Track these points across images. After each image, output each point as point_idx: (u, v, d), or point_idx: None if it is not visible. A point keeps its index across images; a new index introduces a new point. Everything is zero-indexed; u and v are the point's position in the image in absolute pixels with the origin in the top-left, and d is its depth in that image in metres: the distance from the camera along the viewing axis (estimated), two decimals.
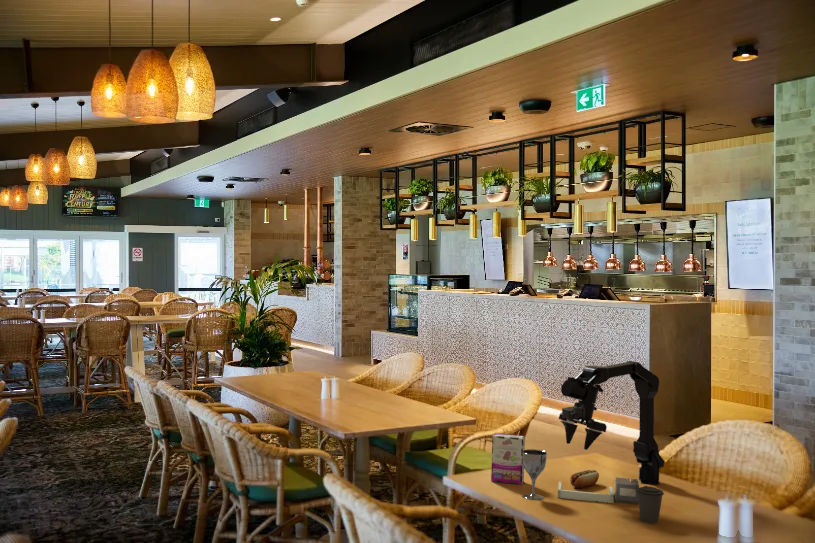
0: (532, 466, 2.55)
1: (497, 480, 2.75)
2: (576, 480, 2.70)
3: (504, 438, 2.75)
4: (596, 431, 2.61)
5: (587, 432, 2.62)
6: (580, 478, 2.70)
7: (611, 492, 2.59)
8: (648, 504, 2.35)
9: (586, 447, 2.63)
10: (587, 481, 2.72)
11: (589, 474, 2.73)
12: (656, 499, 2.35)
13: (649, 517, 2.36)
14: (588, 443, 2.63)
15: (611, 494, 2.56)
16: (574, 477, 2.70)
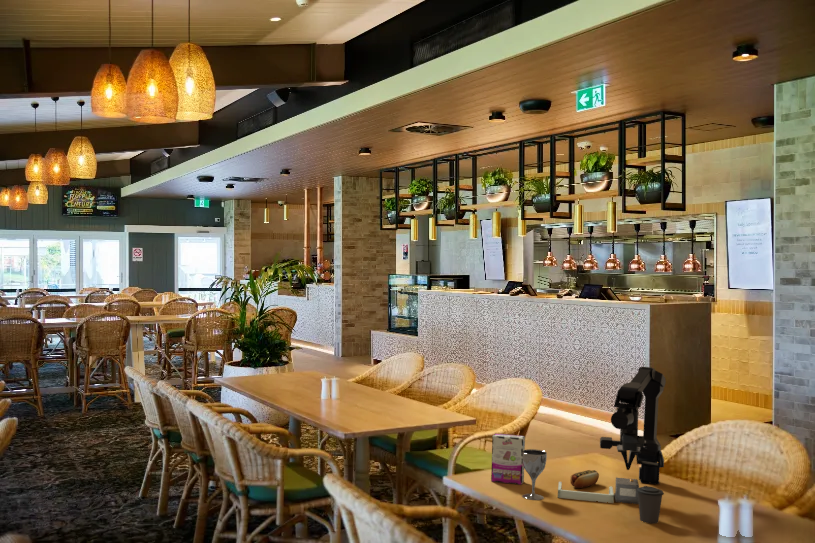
0: (532, 466, 2.55)
1: (497, 480, 2.75)
2: (576, 480, 2.70)
3: (504, 438, 2.75)
4: None
5: (633, 454, 2.60)
6: (580, 478, 2.70)
7: (611, 492, 2.59)
8: (648, 504, 2.35)
9: (629, 467, 2.62)
10: (587, 481, 2.72)
11: (589, 474, 2.73)
12: (656, 499, 2.35)
13: (649, 517, 2.36)
14: None
15: (611, 494, 2.56)
16: (574, 477, 2.70)
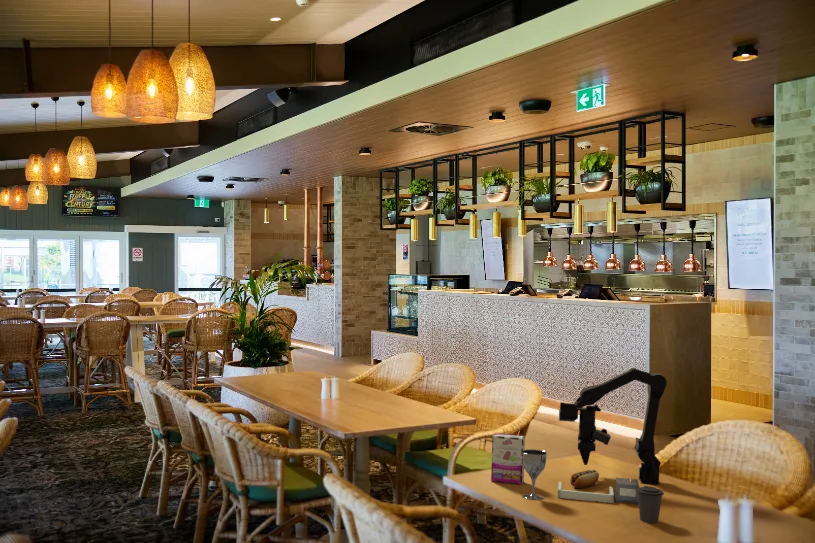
0: (532, 466, 2.55)
1: (497, 480, 2.75)
2: (576, 480, 2.70)
3: (504, 438, 2.75)
4: None
5: None
6: (580, 478, 2.70)
7: (611, 492, 2.59)
8: (648, 504, 2.35)
9: None
10: (587, 481, 2.72)
11: (589, 474, 2.73)
12: (656, 499, 2.35)
13: (649, 517, 2.36)
14: None
15: (611, 494, 2.56)
16: (574, 477, 2.70)
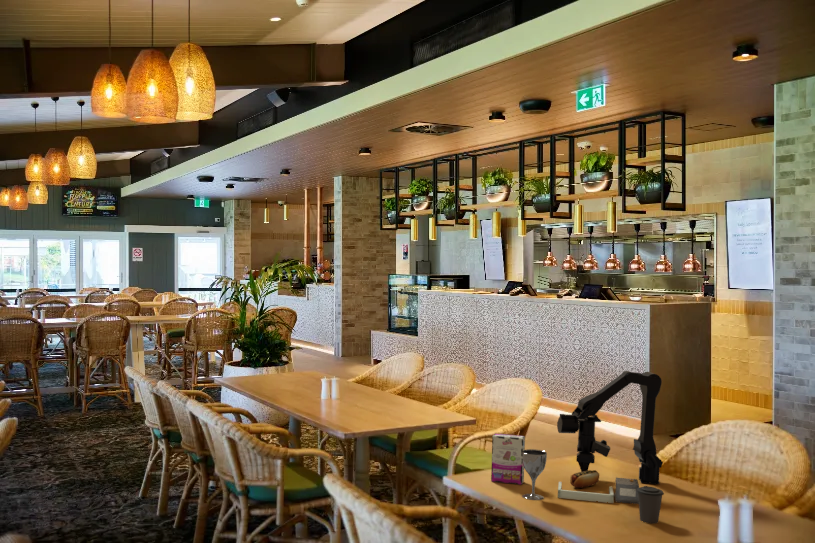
0: (532, 466, 2.55)
1: (497, 480, 2.75)
2: (576, 480, 2.70)
3: (504, 438, 2.75)
4: None
5: None
6: (580, 478, 2.70)
7: (611, 492, 2.59)
8: (648, 504, 2.35)
9: None
10: (587, 481, 2.71)
11: (589, 474, 2.73)
12: (656, 499, 2.35)
13: (649, 517, 2.36)
14: None
15: (611, 494, 2.56)
16: (574, 477, 2.70)
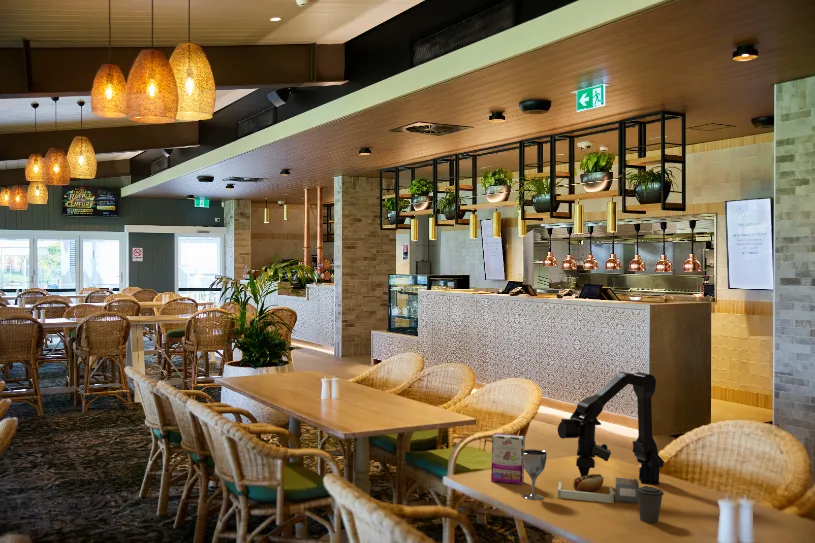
0: (532, 466, 2.55)
1: (497, 480, 2.75)
2: (579, 484, 2.64)
3: (504, 438, 2.75)
4: None
5: None
6: (583, 482, 2.64)
7: (611, 492, 2.59)
8: (648, 504, 2.35)
9: None
10: (591, 485, 2.66)
11: (593, 478, 2.68)
12: (656, 499, 2.35)
13: (649, 517, 2.36)
14: None
15: (611, 494, 2.56)
16: (577, 481, 2.65)
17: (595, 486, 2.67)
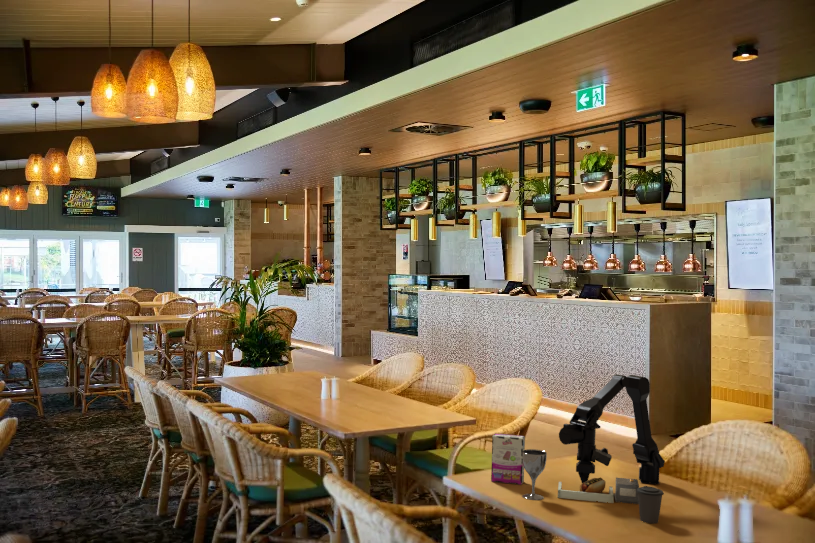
0: (532, 466, 2.55)
1: (497, 480, 2.75)
2: (587, 489, 2.58)
3: (504, 438, 2.75)
4: None
5: None
6: (591, 487, 2.59)
7: (611, 492, 2.59)
8: (648, 504, 2.35)
9: None
10: (597, 489, 2.61)
11: (598, 482, 2.63)
12: (656, 499, 2.35)
13: (649, 517, 2.36)
14: None
15: (611, 494, 2.56)
16: (584, 486, 2.59)
17: (600, 490, 2.63)
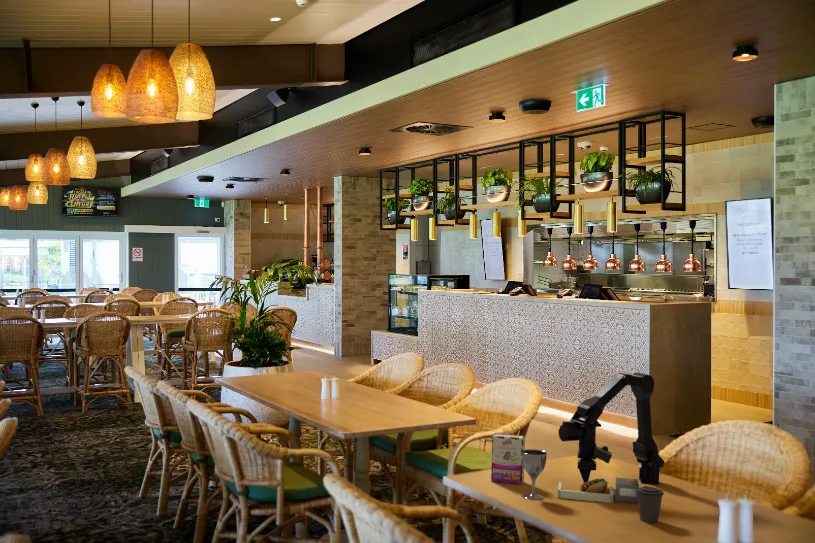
0: (532, 466, 2.55)
1: (497, 480, 2.75)
2: (587, 490, 2.58)
3: (504, 438, 2.75)
4: None
5: None
6: (591, 488, 2.58)
7: (611, 492, 2.59)
8: (648, 504, 2.35)
9: None
10: (598, 490, 2.60)
11: (599, 483, 2.62)
12: (656, 499, 2.35)
13: (649, 517, 2.36)
14: None
15: (611, 494, 2.56)
16: (584, 487, 2.59)
17: (601, 491, 2.62)
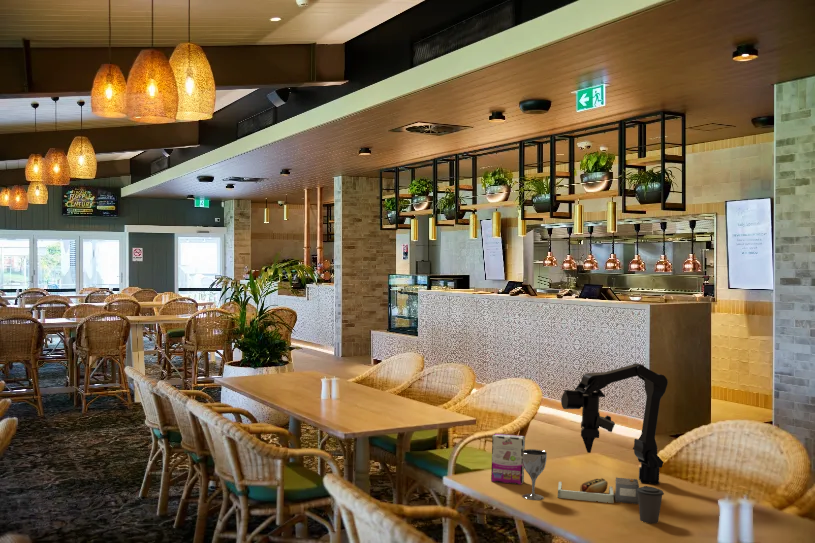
0: (532, 466, 2.55)
1: (497, 480, 2.75)
2: (587, 490, 2.58)
3: (504, 438, 2.75)
4: None
5: None
6: (591, 488, 2.58)
7: (611, 492, 2.59)
8: (648, 504, 2.35)
9: None
10: (598, 490, 2.60)
11: (599, 483, 2.62)
12: (656, 499, 2.35)
13: (649, 517, 2.36)
14: None
15: (611, 494, 2.56)
16: (584, 487, 2.59)
17: (601, 491, 2.62)
